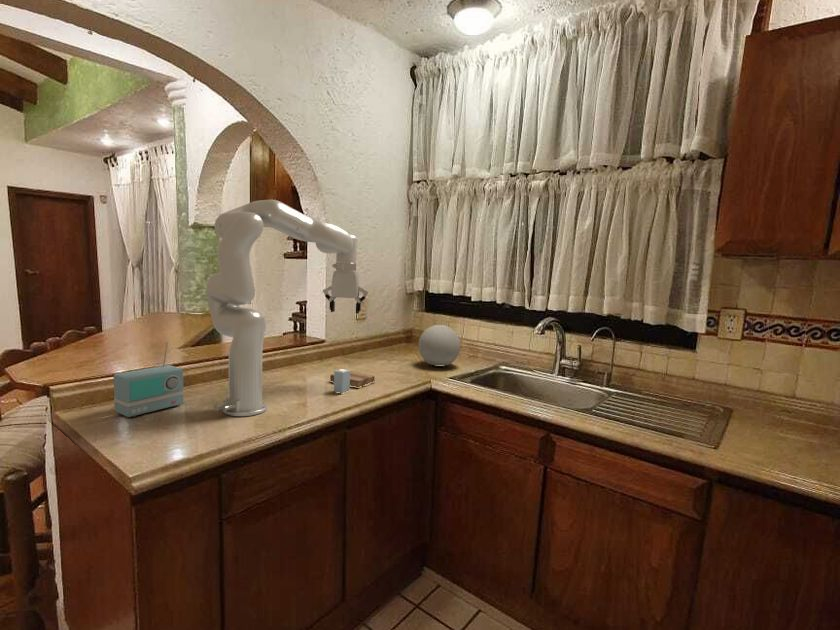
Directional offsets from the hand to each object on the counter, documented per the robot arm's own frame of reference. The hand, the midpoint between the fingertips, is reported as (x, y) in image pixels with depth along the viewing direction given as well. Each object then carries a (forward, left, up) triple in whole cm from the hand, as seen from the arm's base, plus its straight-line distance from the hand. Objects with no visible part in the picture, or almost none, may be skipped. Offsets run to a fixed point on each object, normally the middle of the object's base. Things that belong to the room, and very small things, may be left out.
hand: (345, 312), depth 163 cm
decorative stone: (+52, -14, -28) cm, 61 cm away
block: (-9, -7, -28) cm, 30 cm away
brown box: (+3, -2, -28) cm, 28 cm away
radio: (-59, +24, -28) cm, 70 cm away
